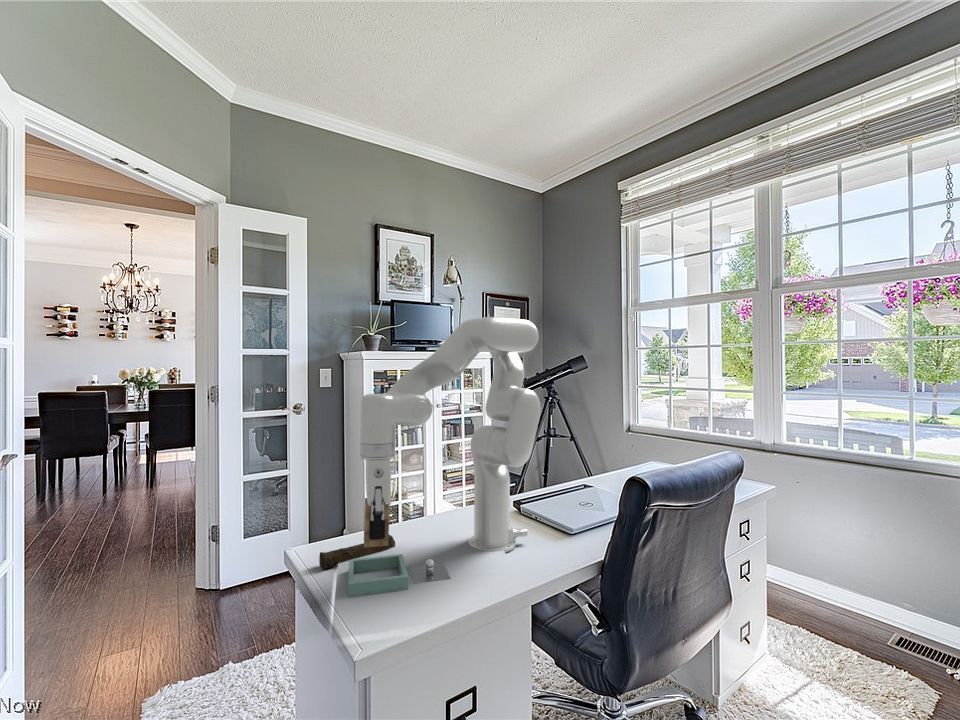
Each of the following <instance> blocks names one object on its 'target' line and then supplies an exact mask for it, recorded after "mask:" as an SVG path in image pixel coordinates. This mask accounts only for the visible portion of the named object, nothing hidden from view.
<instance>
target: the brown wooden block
mask: <svg viewBox="0 0 960 720" xmlns="http://www.w3.org/2000/svg"><path fill="white" fill-rule="evenodd" d="M381 503H382V502H381ZM373 505H375V502H374V503H373ZM374 510H375V508H374ZM363 517H364V518H363V543H364V548H365V547H377V546H388V541H389V535H390V534H389V533H390V532H389V531H390V528H389V527H390V506H388V504H385V501H384V519H385V538H384V539H377V540H370V539H369V521H370V520H371V507H370V506H368V502H367V497H365V498H364V516H363Z"/></svg>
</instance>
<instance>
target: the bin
mask: <svg viewBox="0 0 960 720" xmlns="http://www.w3.org/2000/svg"><path fill="white" fill-rule="evenodd" d="M396 568H398V572H399V575H394V576H385V577H377V578H370V579H369V578H368V579H361V580H359V579H358V580H354V576H355V575H354V573H361V572H369V571H378V570H385V569H396ZM347 582H348V584H347V585H348V586H347V589H348V591H347V596H348V597H347V598H349V597H351V598H352V597H357V596H364V595H365V596H366V595H372V594H380V593H389V592H395V591H402V590H409V574H408V570H407V566H406V563H405V558H404V554H403V553H400V554H399V553H398V554H391V555H389V554H388V555H380V556H374V557H373V556H372V557H371V556H370V557H360V558H355V559H352V560H348V581H347Z"/></svg>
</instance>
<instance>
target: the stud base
mask: <svg viewBox="0 0 960 720" xmlns="http://www.w3.org/2000/svg"><path fill="white" fill-rule="evenodd" d="M409 569H410V574H411V577H412V581H413V583H414V585H415V584H421V583H422V584H423V583H429V582H430V583H431V582H437V581H444V580H445V581H447V580H451V576H450V573H449V572H448V569H447V567H446V566H445V563H438V564H437V563H436V564H435V562H434V560H433V559H430V558H428V559H427V560H426V561H425V565H421V566H413V567H412V566H411V567H409Z"/></svg>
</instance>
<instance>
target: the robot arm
mask: <svg viewBox="0 0 960 720" xmlns="http://www.w3.org/2000/svg"><path fill="white" fill-rule="evenodd" d="M539 338H540V337H539V331H538V328H537V327H536V325H535V324H534V323H533V322H532V321H530V320H528V319H522V318H521V319H520V318H508V317H497V316H484V317H477V318H471V319H467V320H465V321H463V322H461V323H460V324H459V325H458V326H457V327H456V328H455V329H454V330H453V331H452V333H451V334H450V335H449V336H448V337H447V338H446V339H445V340H444V342H442V344H441V345H439V347H438V348H437V349H436V350H435V351H434V352H433V353H432V354H431V355H430V356H428V357H427V358H426V359H424V360H423V361H421V362H419V363H418V364H417V365H415V366H414V367H413V368H411V369H410V370H408V371H407V372H405V374H403V375H402V376H401V377H399V379H398V380H396V382H395V383H394V384H393V385H392V386H391V387H390V388H389V389H388V391H386V393H368V394H365V395H363V396H362V397H361V400H360V434H359V435H360V437H359V443H360V445H359V458H360V459H362V460H365V493H366V498H367V502H368V506H370V507H371V520H370V521H369V539H370V540H377V539H384V538H385V519H384V501H385V504H388V506H389V507H390V506H391V505H392V467H391V465H392V463H391V459H394V458H395V457H396V426H408V427H417V426H418V427H419V426H421V425H424V424H425V423H426V422H428V421H429V419H430V418H431V416H432V413H433V405H432V402H431V400H430V399H429V398H428V397H427V396H425V395H424V394H426V393H428V392H430V391H432V390H433V389H435V388H438V387H441V386H444V385H446V384H448V383H449V384H450V383H451V382H453V381H455V380H457V379H458V378H459V377H460V376H461V375H462V374H463V373H464V371H465V370H466V369H467V367H468V366H469V365H470V364H471V363H472V361H473V360H475V358H476V357H477V355H479V354H480V353H481V352H489V354H490V356H491V358H492V360H493V367H494V369H493V376H492V380H491V384H490V387H489V391H488V395H487V399H486V403H485V413H486V416H487V417H488V418H489V419H491V420H493V421H494V422H499V423H505V424H507V427H504V426H499V425H491V424H490V425H483V426H480V427H478V428H477V429H476V430H475V431H474V432H473V434H472V436H471V439H470V452H471V457H472V458H471V459H472V464H473V474H474V475H473V477H474V479H473V481H474V485H473V487H474V489H473V490H474V491H473V494H474V496H473V498H474V499H473V501H474V503H473V504H474V505H473V507H474V508H473V510H474V511H473V515H474V516H473V521H474V522H473V523H474V524H473V525H474V526H473V527H474V528H473V529H474V532H473V535H472V536H471V537H470V538H468V540H467V541H468V544H469V546H471V547H472V548H474V549H476V550H479V551H485V552H499V551H500V552H501V551H503V552H504V553H508V552H509V553H510V552H511V551H512V550H514V549H515V548H516V544H517V540H516V539H517V538H519V537H520V538H523V537H528V535H529V534H528V529H527V528H521V529H520V527H518V526H516V527H512V526H511V502H510V501H511V499H510V498H511V494H510V493H511V491H510V490H511V478H510V472H509V469H508V467H511V468H520V467H522V466H524V465H525V464H526V463H527V462H528V461H529V459H530V457H531V455H532V451H533V448H534V444H535V440H536V435H537V431H538V426H539V423H540V417H541V412H542V411H541V402H540V399H539V396H538V394H537V393H536V392H535V391H534V390H531V389H529V388H525V387H524V388H523V386H524V385H523V383H524V380H525V367H524V364H523V361H522V359H521V357H520V356H519V353H527V352H530V351H532V350H533V349H534V348H536V346H537V344H538V342H539ZM374 502H375V505H373V503H374ZM381 502H382V503H381ZM374 508H375V510H374Z"/></svg>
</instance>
